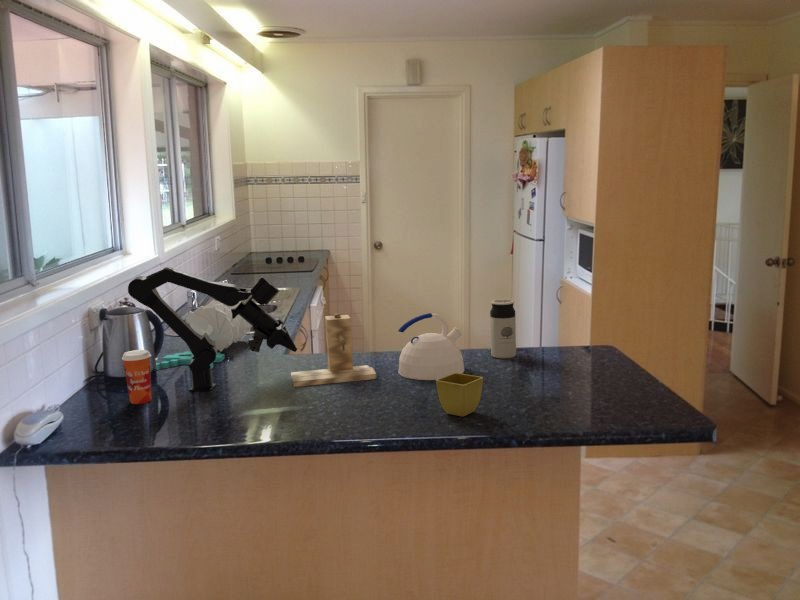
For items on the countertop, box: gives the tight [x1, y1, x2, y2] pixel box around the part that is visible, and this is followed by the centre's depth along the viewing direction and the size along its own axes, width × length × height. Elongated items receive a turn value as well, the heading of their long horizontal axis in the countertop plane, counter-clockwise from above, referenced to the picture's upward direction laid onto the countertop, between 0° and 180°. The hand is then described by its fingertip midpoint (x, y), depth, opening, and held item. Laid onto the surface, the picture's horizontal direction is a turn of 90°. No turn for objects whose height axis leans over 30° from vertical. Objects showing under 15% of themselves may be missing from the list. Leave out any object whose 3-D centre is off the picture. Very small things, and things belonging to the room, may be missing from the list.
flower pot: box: [435, 373, 484, 417], centre depth 185 cm, size 9×9×9 cm
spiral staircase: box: [185, 299, 253, 353], centre depth 269 cm, size 18×18×25 cm
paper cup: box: [121, 349, 152, 405], centre depth 206 cm, size 8×8×14 cm
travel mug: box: [489, 298, 517, 359], centre depth 238 cm, size 8×8×18 cm
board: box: [290, 364, 377, 388], centre depth 221 cm, size 24×16×2 cm, turn 102°
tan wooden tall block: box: [324, 313, 354, 371], centre depth 219 cm, size 7×16×18 cm, turn 11°
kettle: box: [397, 312, 465, 381], centre depth 224 cm, size 20×21×18 cm
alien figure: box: [155, 350, 226, 371], centre depth 249 cm, size 20×2×20 cm
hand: (296, 350), depth 221 cm, fingers closed
